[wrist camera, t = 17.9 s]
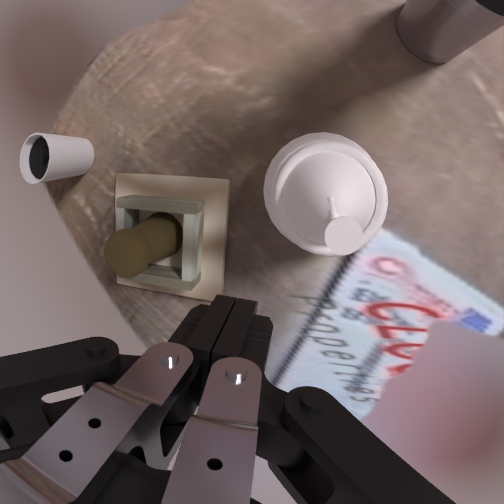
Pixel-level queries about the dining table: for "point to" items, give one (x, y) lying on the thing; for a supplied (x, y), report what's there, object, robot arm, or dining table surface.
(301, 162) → the honey pot
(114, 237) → the brown rounded tapered piece
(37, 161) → the white cup
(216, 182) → the stand
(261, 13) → the dining table surface
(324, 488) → the robot arm
